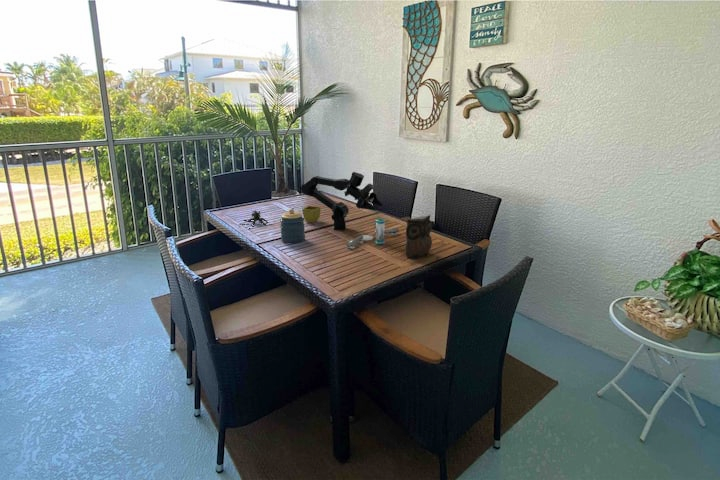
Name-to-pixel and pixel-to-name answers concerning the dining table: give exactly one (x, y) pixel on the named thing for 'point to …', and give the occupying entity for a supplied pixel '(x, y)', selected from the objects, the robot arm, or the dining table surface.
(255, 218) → the octopus toy
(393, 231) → the shaft
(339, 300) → the dining table surface
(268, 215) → the dining table surface
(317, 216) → the flower pot
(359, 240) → the shaft
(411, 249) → the owl
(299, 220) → the canister
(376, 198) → the robot arm
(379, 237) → the coupling
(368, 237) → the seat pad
